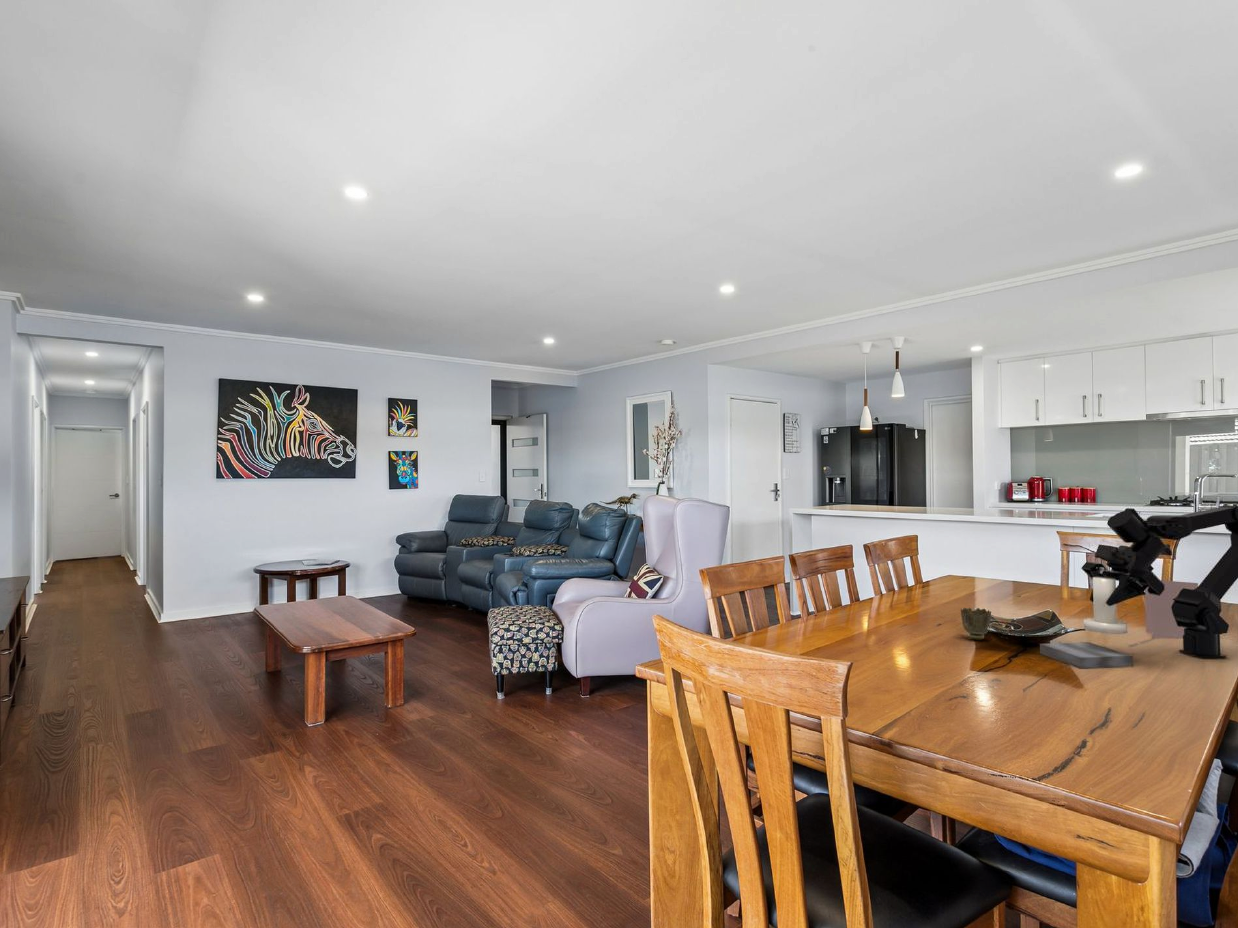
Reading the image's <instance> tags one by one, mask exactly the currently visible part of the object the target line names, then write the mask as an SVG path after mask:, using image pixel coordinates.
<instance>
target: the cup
mask: <svg viewBox="0 0 1238 928" xmlns="http://www.w3.org/2000/svg"><path fill="white" fill-rule="evenodd" d="M960 616H961V623H962V626H963V629H964V630H965V632H967V633H968V638H969V639H970V638H971V639H970V640H972V639H976V640H975V641H983V640H984V639H985V634H987V633H988V631H989V630H988V631H987V628H988V627H989V626H990V625H991V617H992V611H991V610H990V609H988V610H987V609H985V608H981V609H980V608H979V607H977V608H976V610H972V608H971V607H968V608H966V607H963V609H962V608H960ZM990 627H991V626H990ZM990 627H989V628H990ZM982 639H983V640H982Z"/></svg>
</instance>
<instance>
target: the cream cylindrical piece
mask: <svg viewBox="0 0 1238 928" xmlns="http://www.w3.org/2000/svg"><path fill="white" fill-rule="evenodd" d="M1116 582H1117V581H1116V579H1115V578H1109V577H1093V580H1092V589H1093V602H1092V603H1093V617H1087V618H1084V619H1083V628H1084V629H1085V630H1086V631H1089V632H1093V633H1100V634H1108V635H1109V634H1110V635H1124V634H1128V623H1127V622H1125V621H1122V620H1118V619H1117V618H1118V616H1117V604H1114V605H1112V606H1108V605H1107V604H1106V602H1107V600H1108V598H1109V597H1110V595H1111V594H1112V593H1113V591H1114V590H1115V589H1116V587H1117V584H1116Z"/></svg>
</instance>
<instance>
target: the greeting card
mask: <svg viewBox="0 0 1238 928" xmlns="http://www.w3.org/2000/svg"><path fill="white" fill-rule="evenodd" d="M1160 580H1161V579H1160ZM1161 581H1162V582H1163V583H1164V588H1165V590H1164V591H1163V592H1162V594H1161V595H1160V596H1158V595H1153V594H1149V593H1148V590H1147V589H1148V588H1146V590H1145V591H1144V592H1145V593H1146V594H1145V595H1144V609H1145V611H1144V612H1145V614H1144V615H1145V633H1147V634H1148V633H1149V634H1152V638H1153V637H1154V638H1153V639H1183V635H1184V628H1185V627H1179V626H1177V623H1176V621H1175V618H1174V616H1173V613H1172V609H1171V606H1172V604H1173V602H1174V600H1173V599H1174V598H1176V597H1177V596H1178V594H1179V592H1180V591H1181V590H1182V589H1183V588H1186V589H1192V590H1193V589H1196V588H1197V587H1198V586H1199V583H1198V582H1190V581H1187V582H1186V581H1176V580H1161Z"/></svg>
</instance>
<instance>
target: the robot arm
mask: <svg viewBox="0 0 1238 928" xmlns="http://www.w3.org/2000/svg"><path fill="white" fill-rule="evenodd" d="M1106 525H1107V526H1108V527H1109V528H1110V529H1111V530H1112V531H1113V532H1114V533H1115V535H1116V536H1118V538H1120V540H1121V541H1122V542H1124V543H1127V544H1131V545H1130V546H1128V545H1119V547H1118V546H1113V545H1107V544H1098V545H1097V549H1096V551H1095V554H1094V557H1095V558H1097V559H1100V560H1103V561H1105V562H1106V563H1105V565H1106V566H1107V567H1108V568H1110V569H1107V567H1105V566H1104V565H1103V564H1102V563H1099V562H1092V561H1086V562H1084V564H1083V565H1082V566H1081V568H1080V569H1081V570H1082V571H1083V572H1085V574H1086V575H1087V576H1088V577H1089V578H1090V579H1091V580H1092V581H1093V577H1109V578H1115V579H1116V582H1118V585H1116V589H1115V590H1114V591H1113V593H1112V594H1111V595H1110V597H1109V598H1108V600H1107V602H1106V604H1107V605H1108V606H1112V605H1114V604H1116V605H1117V604H1120V603H1122V602H1125V601H1128V600H1130V599H1133V598H1137V597H1140V596H1145V594H1146V593H1145V590H1146V588H1148V589H1147V590H1148V593H1149V594H1153V595H1158V596H1160V595H1161V594H1162V592H1163V591H1164V590H1165V588H1164V583H1163V582H1162V581H1161V579H1160V578H1159V577H1158V576H1157V575H1156V574H1155V573H1154V572H1153V570H1154V569H1155V568H1154V567H1153V566H1152V565H1153V563H1154V562H1155V561H1156V560H1158V558H1159V556H1160V555H1161V556H1167V557H1168V556H1169V557H1171V556H1173V552H1172V549H1171V544H1169V543H1168V544H1167V543H1165V542H1164V541H1163V540H1168V541H1180V540H1182V539H1184V538H1187V537H1189V536H1191V534H1192V533H1193V532H1195V531H1200V530H1204V529H1209V528H1212V527H1217V526H1223V525H1224V526H1225V529H1226V530H1227V531H1228V532H1230V536H1229V537H1230V544H1231V545H1230V547H1229V548H1228V549H1227V550H1226V552H1225V553H1224V554H1223V555H1222V556H1221V558H1220V559H1219V560H1218V562H1217V563H1216V564H1215V565H1214V566H1213V567H1212V569H1211V570H1210V571H1209V573H1208V574H1207V575H1206V576H1205V577H1204V579H1203V580H1202V581H1201V582H1200V584H1198V587H1197V588H1196V589H1193V590H1192V589H1186V588H1183V589H1182V590H1181V591H1180V592H1179V594H1178V596H1177V597H1176V598H1174V599H1173V600H1174V602H1173V604H1172V606H1171V609H1172V613H1173V616H1174V618H1175V621H1176V623H1177V626H1179V627H1185V628H1184V635H1183V638H1182V649H1178V652H1179V653H1182V654H1186V655H1190V656H1192V657H1197V658H1200V659H1222V658H1223V659H1226V658H1227V655H1226V654H1223V653H1222V654H1221V635H1223V634H1227V633H1228V631H1229V627H1230V625H1229V624H1228V622H1227V621H1226V620H1225V619H1224V618H1223V617H1222V616H1221V615H1220V614H1221V612H1222V602H1221V601H1222V599H1223V598H1224V597H1225V595H1226V594H1227V593H1228V592H1229V590H1230V589H1231V587H1232V586H1233V585H1234V584H1235V582H1236V581H1237V580H1238V505H1229V504H1228V505H1227V504H1226V505H1225V504H1224V505H1220V506H1218V507H1213V508H1209V509H1205V510H1200V511H1193V512H1191V513H1185V514H1177V515H1175V514H1174V515H1173V514H1172V515H1171V514H1169V515H1168V514H1166V515H1165V514H1160V515H1158V514H1157V515H1150V516H1148V517H1147V518H1146V520H1145V519H1143V518H1142V517H1141V515H1140V514H1139V513H1138V511H1137V510H1136V509H1135V508H1131V507H1130V508H1129V507H1127V508H1125V509H1124V510H1123V511H1120V512H1118V513H1116V514H1114V515H1111V516H1110V517H1109V518H1108V520H1107V523H1106ZM1089 601H1090V602H1091V603H1093V588H1092V590H1091V593H1090V597H1089Z"/></svg>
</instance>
